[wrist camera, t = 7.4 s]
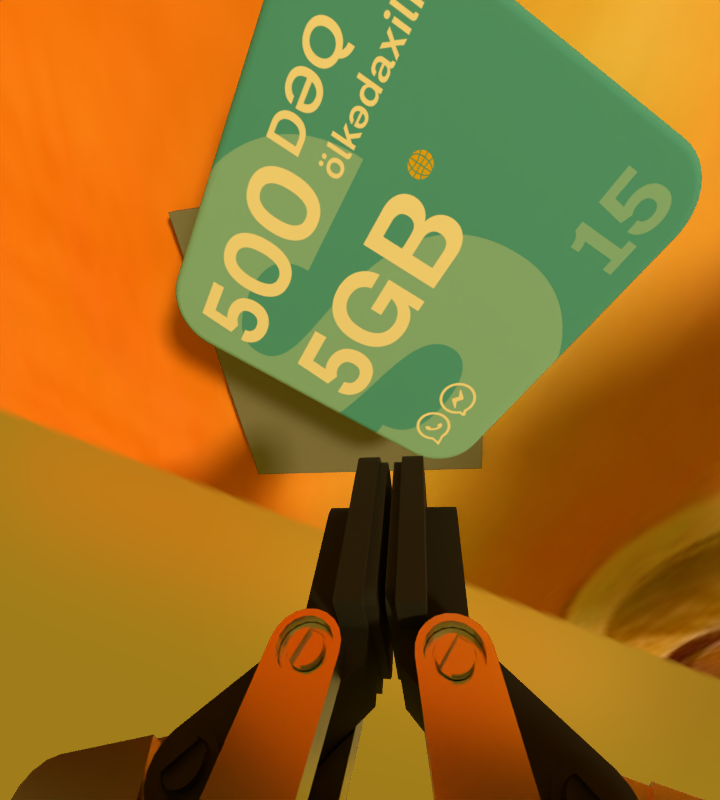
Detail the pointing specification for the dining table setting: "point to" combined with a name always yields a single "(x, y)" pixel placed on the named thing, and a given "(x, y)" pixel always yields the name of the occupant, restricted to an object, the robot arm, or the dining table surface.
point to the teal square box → (424, 209)
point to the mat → (303, 417)
